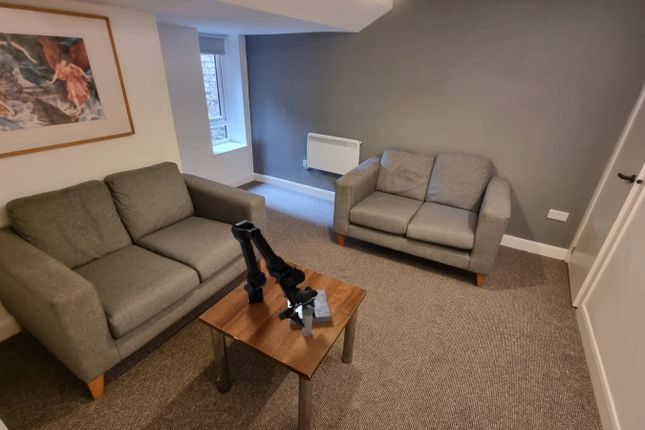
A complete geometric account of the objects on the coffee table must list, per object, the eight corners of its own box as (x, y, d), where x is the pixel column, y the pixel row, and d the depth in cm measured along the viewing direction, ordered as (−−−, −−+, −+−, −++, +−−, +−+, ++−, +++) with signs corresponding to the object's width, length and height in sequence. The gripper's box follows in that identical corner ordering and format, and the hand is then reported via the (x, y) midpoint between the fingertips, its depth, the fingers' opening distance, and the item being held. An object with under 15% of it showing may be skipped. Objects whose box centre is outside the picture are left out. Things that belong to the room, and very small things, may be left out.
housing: (289, 324, 134) (289, 319, 133) (287, 297, 150) (287, 292, 149) (330, 321, 137) (330, 315, 136) (324, 294, 153) (324, 289, 152)
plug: (302, 337, 128) (302, 313, 123) (301, 329, 132) (301, 305, 127) (313, 336, 129) (313, 312, 123) (311, 328, 133) (312, 304, 127)
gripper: (283, 295, 116) (305, 332, 115) (315, 273, 129) (335, 306, 128) (269, 302, 124) (289, 337, 122) (301, 281, 137) (320, 312, 136)
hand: (309, 322), depth 127 cm, fingers open, 6 cm apart
